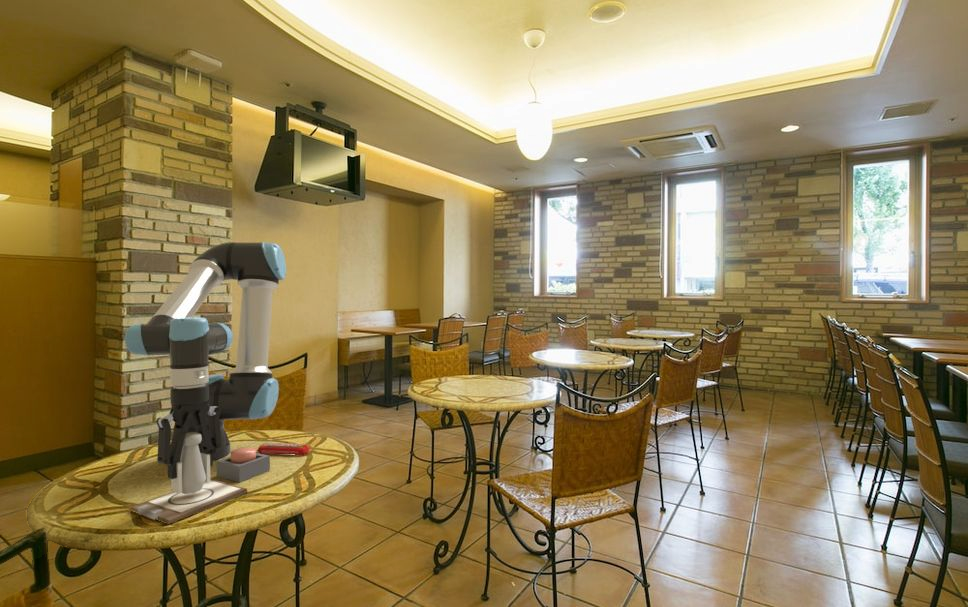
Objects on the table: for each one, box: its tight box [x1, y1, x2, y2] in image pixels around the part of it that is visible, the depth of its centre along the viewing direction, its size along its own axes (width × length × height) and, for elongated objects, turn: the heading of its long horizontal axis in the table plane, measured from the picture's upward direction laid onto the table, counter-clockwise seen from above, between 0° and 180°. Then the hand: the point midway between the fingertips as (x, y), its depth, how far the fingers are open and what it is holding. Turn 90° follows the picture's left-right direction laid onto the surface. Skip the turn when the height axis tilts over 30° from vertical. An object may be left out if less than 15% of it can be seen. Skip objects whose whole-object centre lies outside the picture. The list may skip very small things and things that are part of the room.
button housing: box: [216, 452, 271, 483], centre depth 128 cm, size 9×9×4 cm
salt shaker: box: [180, 432, 206, 494], centre depth 110 cm, size 6×6×13 cm
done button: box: [230, 446, 257, 464], centre depth 128 cm, size 6×6×3 cm
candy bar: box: [256, 442, 311, 456], centre depth 144 cm, size 16×4×3 cm, turn 82°
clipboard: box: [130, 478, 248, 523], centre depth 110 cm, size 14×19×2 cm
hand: (191, 486), depth 110 cm, fingers closed on salt shaker, 6 cm apart
